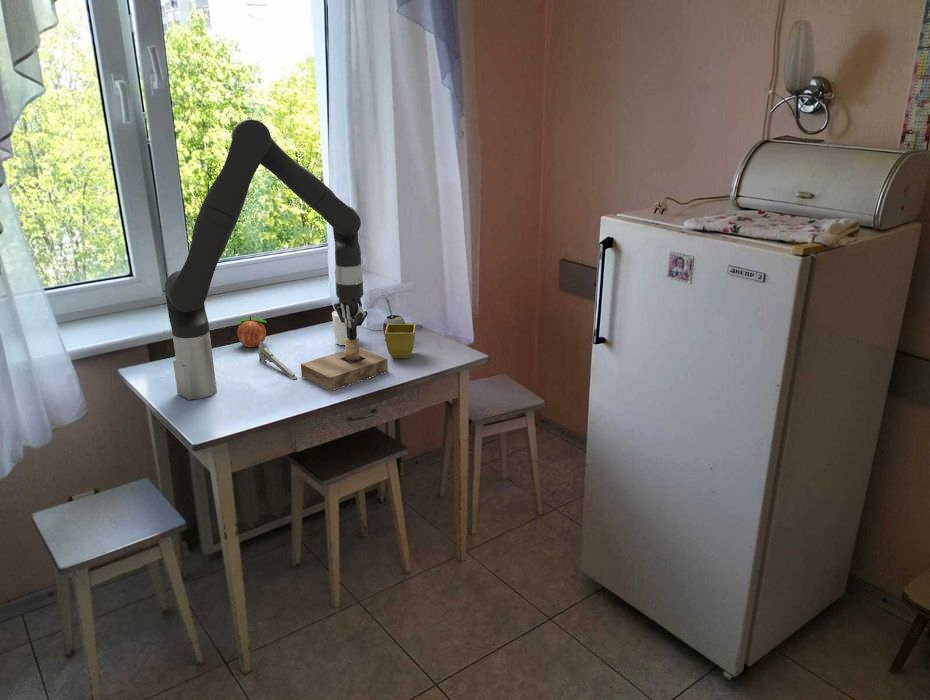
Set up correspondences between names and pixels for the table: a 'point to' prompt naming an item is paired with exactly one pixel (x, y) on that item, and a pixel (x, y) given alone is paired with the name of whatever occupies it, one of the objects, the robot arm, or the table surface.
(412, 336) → the flower pot
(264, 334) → the fruit
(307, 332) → the table surface
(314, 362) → the board
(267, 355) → the caliper
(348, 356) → the peg
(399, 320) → the mate gourd
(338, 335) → the white cup
